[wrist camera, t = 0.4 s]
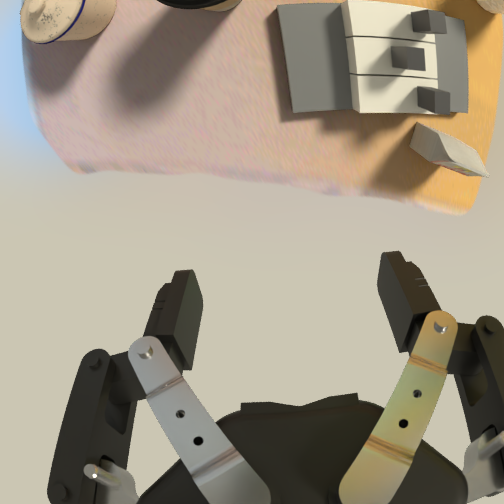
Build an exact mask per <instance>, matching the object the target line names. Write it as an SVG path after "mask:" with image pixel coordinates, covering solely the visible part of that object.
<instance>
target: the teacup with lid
mask: <svg viewBox="0 0 504 504" xmlns="http://www.w3.org/2000/svg"><path fill="white" fill-rule="evenodd" d="M115 9H116V0H25V2H24V4H23V7H22V8H21V11H20V15H21V28H22V31H23V33H24V35H25V36H26V37H27V38H28V39H29V40H30V41H32V42H34V43H37V44H47V43H51V42H54V41H64V40H84V39H88V38H91V37H93V36H95V35H97V34H98V33H99V32H101V31H102V30H103V29H104V28H105V27H106V26H107V25H108V23H109V22H110V20H111V19H112V17H113V15H114V12H115Z"/></svg>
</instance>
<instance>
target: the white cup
mask: <svg viewBox="0 0 504 504" xmlns="http://www.w3.org/2000/svg"><path fill="white" fill-rule="evenodd" d="M476 1H477V3H478V4H479V5H480V6H482V7H483V8H484V9H485V10H487V11H489V12H491V13H496V14H504V0H476Z"/></svg>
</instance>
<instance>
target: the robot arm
mask: <svg viewBox="0 0 504 504" xmlns="http://www.w3.org/2000/svg"><path fill="white" fill-rule="evenodd" d="M377 287H378V292H379V296H380V298H381V301H382V304H383V306H384V309H385V312H386V315H387V318H388V320H389V323H390V326H391V329H392V332H393V335H394V338H395V341H396V344H397V347H398V350H399V353H402V352H409V356H410V358H409V360H408V362H407V364H406V366H405V369H404V371H403V373H402V375H401V378H400V380H399V382H398V384H397V386H396V388H395V390H394V392H393V394H392V396H391V398H390V399H389V402H388V403H387V405H386V407H385V409H384V408H383V407H381V406H379V405H377V404H374V403H371V402H367V401H362V400H358V394H357V393H352V394H345V395H338V396H331V397H327V398H324V399H321V400H318V401H315V402H312V403H309V404H306V405H303V406H293V405H286V404H280V403H274V402H252V403H241V410H240V411H236V412H233V413H231V414H228V415H226V416H224V417H223V418H221V419H219V420H218V421H217V422H214V420H213V419H212V418H211V416H210V415H209V413H208V412H207V411H206V409H205V408H204V407H203V405H202V404H201V402H200V401H199V399H198V398H197V397H196V395H195V394H194V392H193V391H192V389H191V388H190V386H189V385H188V384H187V382H186V381H185V379H184V378H183V376H182V373H183V370H192V366H193V360H194V354H195V348H196V343H197V337H198V332H199V327H200V321H201V316H202V311H203V298H202V294H201V291H200V288H199V285H198V282H197V279H196V276H195V273H194V271H193V270H180V271H175V273H174V276H173V279H172V282H171V283H165V284H164V285H163V287H162V288H161V289H160V290H159V291H158V294H157V296H156V299H155V303H154V305H153V308H152V311H151V314H150V317H149V319H148V322H147V325H146V328H145V332H144V335H143V337H142V338H139V339H138V340H136V341H135V342H134V343H133V344H132V345H131V346H130V348H129V351H126V352H123V353H119V354H116V355H112V356H110V355H109V354H108V353H107V352H106V351H105V350H103V349H95V350H92V351H90V352H89V353H87V354H86V355H85V356H84V357H83V359H82V361H81V364H80V366H79V369H78V372H77V375H76V378H75V381H74V384H73V388H72V391H71V394H70V397H69V401H68V404H67V407H66V411H65V414H64V418H63V421H62V425H61V429H60V433H59V437H58V441H57V445H56V449H55V454H54V458H53V462H52V467H51V472H50V477H49V483H48V488H47V495H48V498H49V501H50V503H51V504H467V503H469V502H471V501H474V500H477V499H479V498H482V497H484V496H487V497H491V496H494V495H496V494H499V493H501V492H503V491H504V328H503V326H502V324H501V323H500V322H499V321H498V320H497V319H496V318H494V317H492V316H487V315H486V316H482V317H480V318H479V319H478V320H477V322H476V324H465V323H457V322H456V320H455V318H454V317H453V316H452V315H451V314H449V313H447V312H445V311H442V310H441V308H440V306H439V304H438V302H437V300H436V298H435V296H434V294H433V292H432V290H431V288H430V287H429V286H428V283H427V281H426V279H424V276H423V274H422V272H421V270H420V269H419V268H418V267H417V266H416V265H415V264H413V263H412V262H406V261H405V259H404V257H403V256H402V254H401V252H399V251H393V252H383V253H382V255H381V261H380V268H379V274H378V280H377ZM447 374H454V378H455V381H456V384H457V388H458V391H459V395H460V398H461V402H462V406H463V410H464V414H465V418H466V422H467V427H468V431H469V435H470V440H471V444H470V445H469V446H468V448H467V450H466V452H465V456H464V468H463V471H461V470H460V469H459V468H458V467H457V466H456V465H454V464H453V463H452V462H450V461H449V460H448V459H447V458H445V457H444V456H443V455H442V454H440V453H439V452H438V451H436V450H435V449H434V448H433V447H431V446H430V445H429V444H428V443H426V442H425V441H424V440H423V439H422V437H423V435H424V433H425V431H426V428H427V425H428V424H429V421H430V419H431V417H432V414H433V412H434V409H435V407H436V404H437V401H438V399H439V396H440V393H441V391H442V388H443V385H444V382H445V379H446V376H447ZM142 399H147V401H148V403H149V405H150V407H151V409H152V411H153V412H154V414H155V416H156V418H157V420H158V422H159V423H160V425H161V427H162V429H163V430H164V432H165V433H166V435H167V437H168V439H169V440H170V442H171V444H172V445H173V447H174V449H175V450H176V452H177V454H178V455H179V457H180V459H179V460H178V461H177V462H176V463H175V464H174V465H173V466H172V467H171V468H170V469H169V470H167V471H166V472H165V473H164V474H163V475H162V476H161V477H160V478H159V479H158V480H157V481H156V482H155V483H154V484H153V485H152V486H150V487H149V488H148V489H147V490H146V491H145V492H144V493H143V494H142V495H141V496H140V498H139V497H138V496H137V493H136V490H135V481H134V479H133V477H132V475H131V474H130V473H129V472H128V471H126V469H127V462H128V455H129V448H130V442H131V435H132V429H133V423H134V417H135V412H136V406H137V401H138V400H142Z"/></svg>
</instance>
